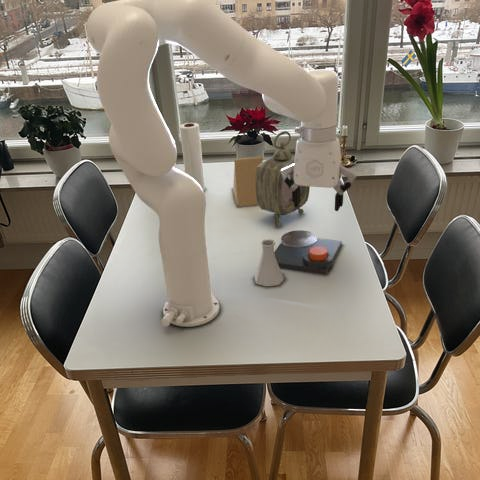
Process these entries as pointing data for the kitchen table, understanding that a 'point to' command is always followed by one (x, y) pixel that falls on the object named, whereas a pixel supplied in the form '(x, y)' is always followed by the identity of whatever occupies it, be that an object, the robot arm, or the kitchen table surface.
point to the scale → (307, 257)
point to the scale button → (318, 253)
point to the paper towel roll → (192, 152)
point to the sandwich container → (245, 181)
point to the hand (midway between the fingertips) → (317, 206)
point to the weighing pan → (299, 239)
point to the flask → (268, 266)
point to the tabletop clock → (277, 183)
